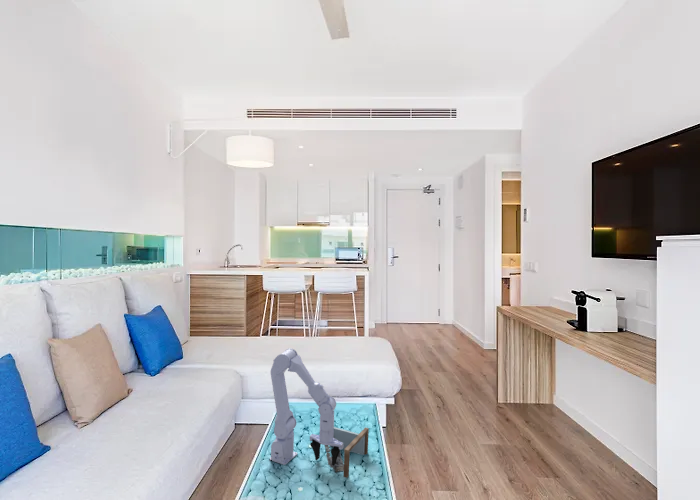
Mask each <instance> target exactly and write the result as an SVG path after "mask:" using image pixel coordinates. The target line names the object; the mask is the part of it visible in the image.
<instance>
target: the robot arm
mask: <svg viewBox="0 0 700 500" xmlns="http://www.w3.org/2000/svg"><path fill="white" fill-rule="evenodd" d="M286 371H287V372H291V373H292V372H293V373H296V374H297V376H298V377H299V378H300V380H301V381H302V382H303V383H304V384H305V385H306V387H307V393H308V394H309V396H310V397H311V398H312V400H313V401H314V402H315V404H316V406H318V408H317V410H318V414H319V415H320V417H319V434H314V433H312V434H310V435H309V441H310V447H311V449H312V452H313V454H314V459H315V461H318V460H319V459H320V456H321V445H323V446H325V445H329V447H333V448H331V449H330V453H331V454H330V455H331V456H332V465H333V466H334V465H335V464H336V460H337V457H338V454H339V452H341V451H342V450H343V449H342V448H343V443H342V442H340V441H338V440H336V439H335V438H334V427H335V409H336V407H337V402H336V399H335V398H334V396H331V395H329V394H328V393H327V391H326V390H325V386H324V385H323V384H321V383H320V382H317V381H315V379H314V378H313V377H312V375H311V374H310V371H308V369H307V367H306V366H305V364H304V363H303V361H302V358H301V356H300V355H299V354H298V352H297V351H296V350H295V349H293V348H289V347H288V348H287V349H285V350H284V351H283V352H282V353H280V354H278V355H277V356H276V357H275V358H273V364H272V366H271V368H270V379H271V384H272V392H273V397H274V404H275V408H276V409H275V411H276V416H275V419H274V429H273V433H274V435H275V439H274V440H273V442H272V443H271V446H270V457H269V458H270V460H269V461H271V460H272V462H275V463H278V464H280V465H283V466H286V465H287V464H288V463H289V462H290V461H291V460H292V459H294V458H295V457H296V456H297V455H298V452H297V451H294V447H295V446H294V444H295V443H294V442H295V439H294V438H295V433H294V429H296V427H297V419H296V418H295V416H294V412H293V411H292V410H291V409H290V402H289V397H288V390H287V383H286V377H285V372H286Z"/></svg>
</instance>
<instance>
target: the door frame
mask: <svg viewBox="0 0 700 500" xmlns="http://www.w3.org/2000/svg"><path fill="white" fill-rule="evenodd" d="M369 430H370V429H369V428H368V427H364V428H363V429H362V430H361V432H359V433H358V434H359V435H358V436H357V437H356V438H355V439H354V440H353V441H352V442H351V443H350V444H349V445H348V446H347V447H346V448H345V449H343V453H344V454H343V464H344V471H343V473H342V474H343V475H342V476H343V478H346V479H347V478H349V475H350V457H351V456H350V455H351V454H350V453H351V450H352V449H353V447H354V446H355V445H356V444H357V443H358V442H359V441H360V440H361V439H362V438H363V437H364V436H365V451H364V455H365V456H367V455H368V454H369V432H370V431H369ZM366 454H367V455H366Z"/></svg>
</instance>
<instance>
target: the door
mask: <svg viewBox="0 0 700 500" xmlns="http://www.w3.org/2000/svg"><path fill="white" fill-rule="evenodd" d="M358 435H359V433H357V432H354V431H352V430H347V429H343V428H339V427H336V426H334V438H335V439H336V440H338V441H340V442H342V443H343V448H342V449H341V450H344V449H345V448H346V447H347V446H348V445H349V444H350V443H351V442H352V441H353V440H354V439H355V438H356V437H357V436H358ZM364 451H365V436H364V437H363V438H362V439H361V440H360V441H359V442H358V443H357V444H356V445H355V446H354V447H353V449H352V450H351V451H350V453H354V454H357V455H361V456H364V455H365V454H364Z"/></svg>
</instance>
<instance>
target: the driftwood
mask: <svg viewBox="0 0 700 500" xmlns="http://www.w3.org/2000/svg"><path fill="white" fill-rule="evenodd" d="M330 447H331V446H330V445H324V448H325V452H326V460H327V463H328V465H329V467H330V468H332V469H333V470H334V471H335V473H337V472H344V460H343V458H342V452H341V451H340V452H339V454H338V457H337V460H336V464H335V465H334V466H333V465H332V455H331V454H330V453H331V449H330Z"/></svg>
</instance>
